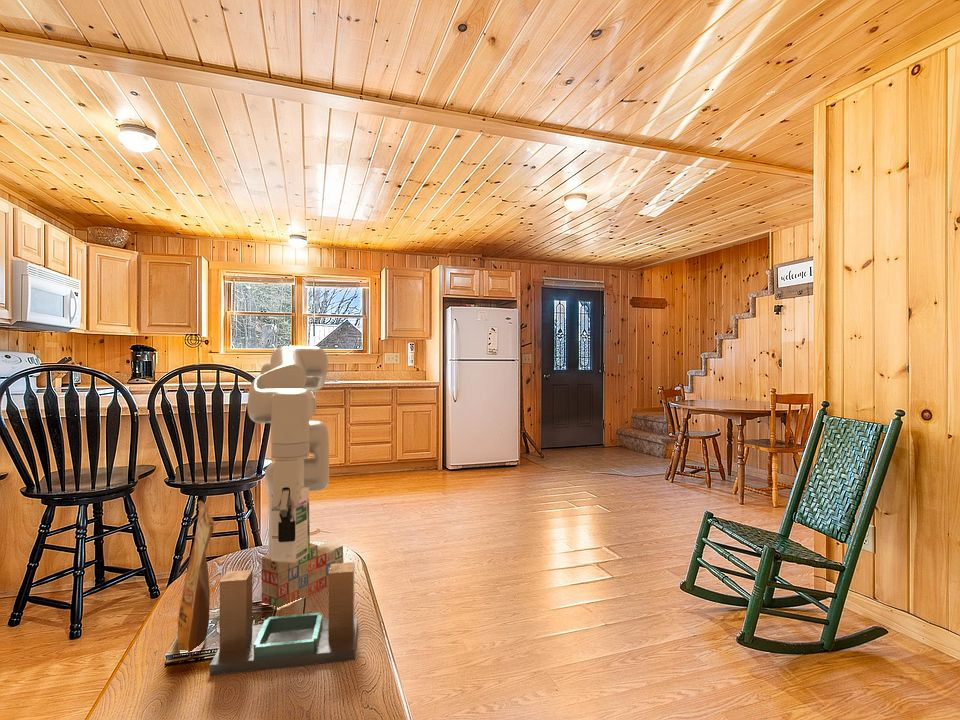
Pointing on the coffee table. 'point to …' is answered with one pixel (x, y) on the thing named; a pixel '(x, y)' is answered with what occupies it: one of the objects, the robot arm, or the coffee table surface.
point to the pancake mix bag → (196, 588)
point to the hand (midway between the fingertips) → (290, 534)
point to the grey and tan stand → (284, 628)
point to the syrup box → (302, 531)
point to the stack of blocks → (298, 574)
